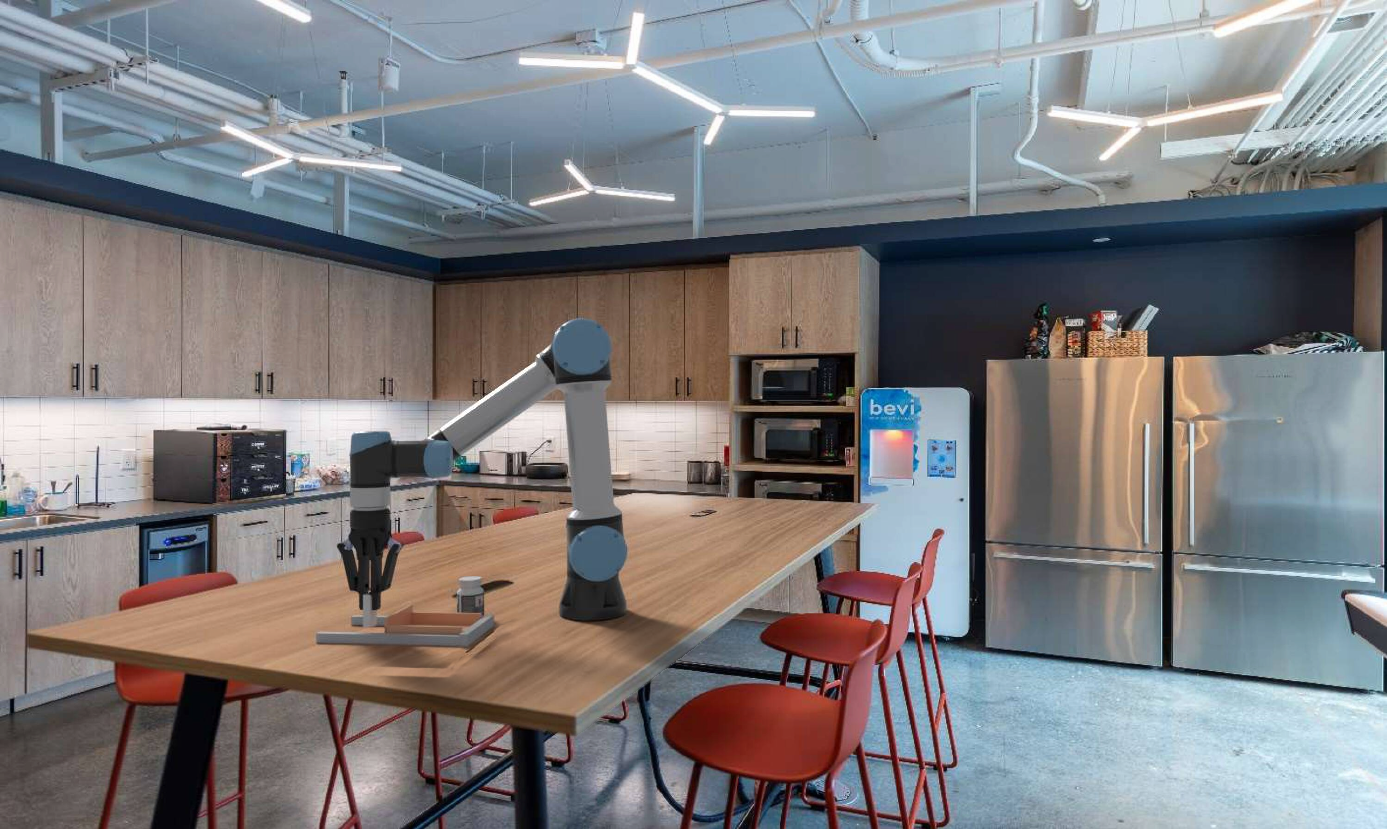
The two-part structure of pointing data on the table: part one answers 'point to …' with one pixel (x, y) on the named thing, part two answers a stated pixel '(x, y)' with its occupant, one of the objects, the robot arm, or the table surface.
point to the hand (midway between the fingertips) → (369, 626)
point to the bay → (408, 635)
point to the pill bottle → (470, 595)
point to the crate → (429, 622)
